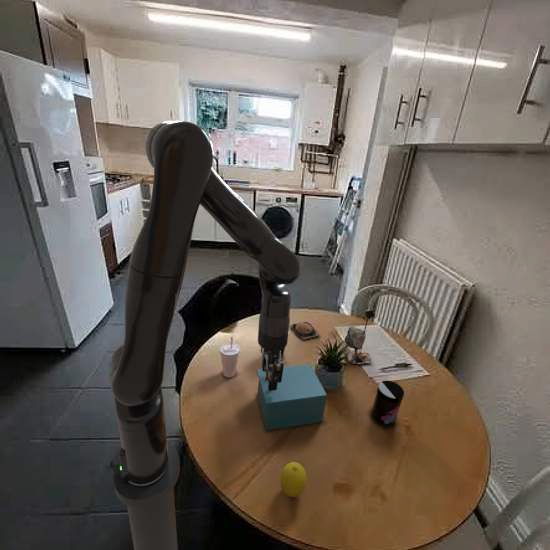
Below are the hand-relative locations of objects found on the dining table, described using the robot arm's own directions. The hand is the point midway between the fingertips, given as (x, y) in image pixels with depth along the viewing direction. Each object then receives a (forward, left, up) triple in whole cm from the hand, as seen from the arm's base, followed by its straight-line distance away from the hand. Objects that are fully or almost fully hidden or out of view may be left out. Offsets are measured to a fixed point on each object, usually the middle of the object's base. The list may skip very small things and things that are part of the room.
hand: (269, 379), depth 83 cm
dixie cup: (+9, +23, -11) cm, 27 cm away
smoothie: (-8, +17, -11) cm, 22 cm away
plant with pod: (+38, +18, -11) cm, 43 cm away
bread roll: (+25, +37, -11) cm, 46 cm away
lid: (+6, 0, -2) cm, 7 cm away
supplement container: (+33, -8, -11) cm, 36 cm away
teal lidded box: (+7, 0, -11) cm, 13 cm away
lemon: (+1, -23, -11) cm, 25 cm away
